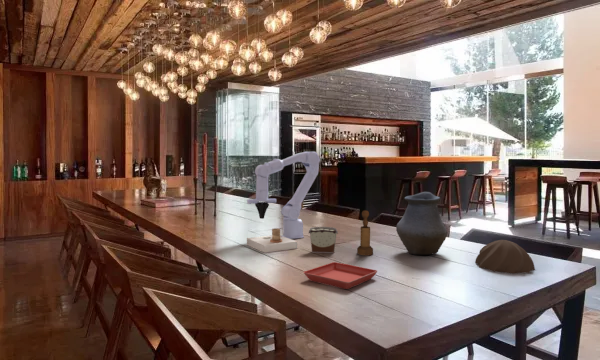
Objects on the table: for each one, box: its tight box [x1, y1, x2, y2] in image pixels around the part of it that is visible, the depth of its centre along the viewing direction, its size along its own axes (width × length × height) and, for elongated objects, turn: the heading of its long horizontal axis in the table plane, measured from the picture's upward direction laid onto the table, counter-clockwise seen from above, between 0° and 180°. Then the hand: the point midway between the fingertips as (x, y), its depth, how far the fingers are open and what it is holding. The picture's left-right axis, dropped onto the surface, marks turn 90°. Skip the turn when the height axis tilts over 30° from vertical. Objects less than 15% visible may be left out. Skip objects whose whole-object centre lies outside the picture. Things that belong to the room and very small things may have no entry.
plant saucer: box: [303, 261, 378, 290], centre depth 141 cm, size 18×18×3 cm
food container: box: [308, 226, 339, 254], centre depth 182 cm, size 12×6×10 cm, turn 84°
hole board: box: [246, 234, 298, 253], centre depth 191 cm, size 16×18×3 cm
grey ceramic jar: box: [395, 191, 448, 256], centre depth 178 cm, size 21×22×25 cm
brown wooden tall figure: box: [356, 209, 374, 256], centre depth 176 cm, size 7×6×18 cm
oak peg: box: [270, 227, 282, 243], centre depth 187 cm, size 5×5×8 cm
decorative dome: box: [475, 239, 536, 275], centre depth 157 cm, size 19×20×10 cm
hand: (261, 218), depth 204 cm, fingers closed
